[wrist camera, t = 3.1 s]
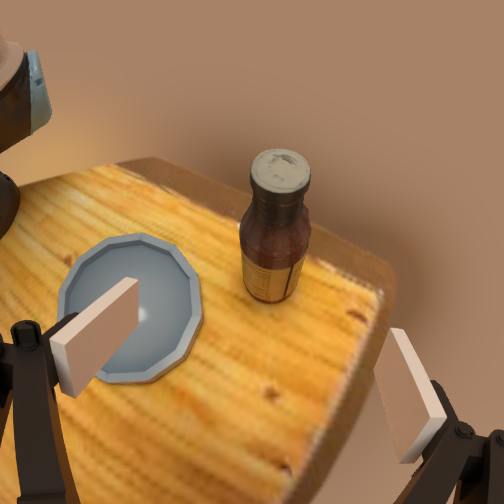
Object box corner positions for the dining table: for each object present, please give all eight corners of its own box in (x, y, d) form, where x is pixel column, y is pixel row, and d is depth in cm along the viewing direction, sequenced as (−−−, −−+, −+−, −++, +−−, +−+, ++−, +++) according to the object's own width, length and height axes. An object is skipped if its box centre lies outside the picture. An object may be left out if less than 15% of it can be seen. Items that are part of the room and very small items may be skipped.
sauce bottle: (280, 249, 40) (304, 125, 23) (305, 292, 38) (353, 184, 20) (232, 270, 39) (222, 148, 21) (254, 316, 36) (263, 217, 19)
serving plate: (70, 251, 40) (64, 244, 38) (196, 233, 41) (193, 225, 39) (65, 384, 31) (56, 382, 30) (210, 377, 33) (209, 375, 31)
